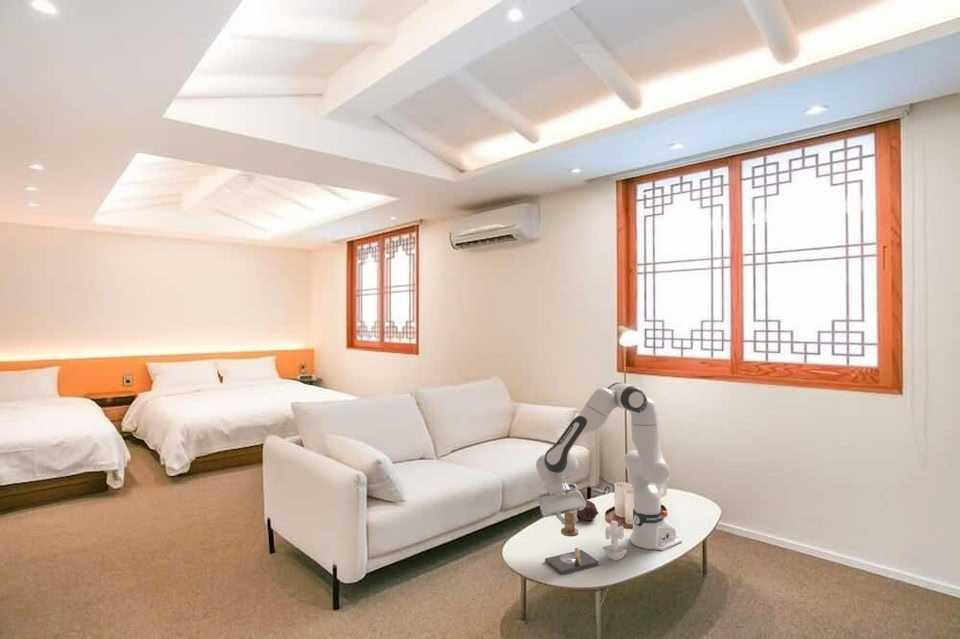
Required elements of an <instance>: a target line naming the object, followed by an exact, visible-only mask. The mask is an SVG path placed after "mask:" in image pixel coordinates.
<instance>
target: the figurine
mask: <svg viewBox="0 0 960 639" xmlns="http://www.w3.org/2000/svg"><path fill="white" fill-rule="evenodd" d="M624 528H625V527H624V526H623V525H619V522H618V521H617V520H611V521H610V526H606V527H605V534H604V535H605V539H606V540H608V541H609V540H610V544H609V545H605V546H602V550H603V551H604V553H605V555H606V557H607V558H609V559H611V560H613V561H615V562H616V561H618V560H621V559H623V558H624V557H625V555H626V553H627V551H628V549H627V548H625V547H623V546H621V545H619V540H623V539H624V536H625V535H624V534H625V530H624Z"/></svg>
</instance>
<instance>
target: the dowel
mask: <svg viewBox="0 0 960 639" xmlns="http://www.w3.org/2000/svg"><path fill="white" fill-rule="evenodd" d="M580 550H581V549H580V548H579V547H576V548H574V551H575V565H580Z"/></svg>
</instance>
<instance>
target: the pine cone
mask: <svg viewBox="0 0 960 639" xmlns="http://www.w3.org/2000/svg"><path fill="white" fill-rule="evenodd" d="M584 500H585V502H586V507H585V508H584V509H583V510H579V511H577V518H579V519H581V520H585V521H587V522H588V521H592V520H595V519H596V517H597V516H598V515H599V512H598V509H597V507H596V505H595V503H594V502H593V501H590V500H589V499H588V500H587V499H584Z"/></svg>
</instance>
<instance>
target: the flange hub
mask: <svg viewBox="0 0 960 639" xmlns="http://www.w3.org/2000/svg"><path fill="white" fill-rule="evenodd" d="M563 515H564V518H566V521H567V523H566V524H564V527H562V528H561V530H560V534H561V535H562V536H565V537H571V538H572V537H577V536H578V535H579V529H577V528H576V526H575V523H576V522H575V519H574V511H570V510H567V511H565V512H564V514H563Z"/></svg>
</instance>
